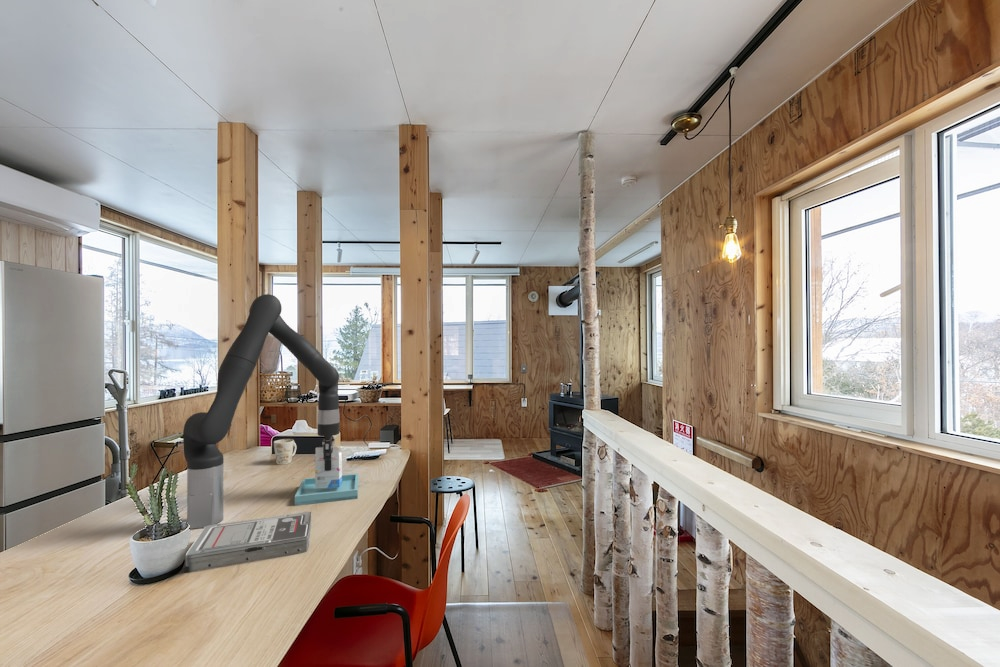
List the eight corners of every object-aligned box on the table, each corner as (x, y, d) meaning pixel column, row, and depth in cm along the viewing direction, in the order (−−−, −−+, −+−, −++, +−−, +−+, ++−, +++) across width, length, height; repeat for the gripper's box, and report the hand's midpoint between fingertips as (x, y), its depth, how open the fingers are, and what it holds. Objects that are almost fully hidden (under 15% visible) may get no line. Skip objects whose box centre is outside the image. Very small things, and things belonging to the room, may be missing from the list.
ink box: (342, 483, 161) (342, 443, 161) (339, 487, 156) (339, 446, 156) (318, 484, 159) (318, 444, 160) (314, 489, 155) (314, 447, 155)
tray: (357, 498, 151) (357, 489, 151) (294, 505, 145) (294, 496, 145) (358, 481, 170) (358, 473, 170) (302, 486, 164) (302, 478, 164)
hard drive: (205, 541, 120) (205, 525, 120) (311, 526, 130) (311, 511, 130) (183, 574, 103) (183, 556, 103) (307, 553, 113) (307, 536, 113)
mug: (269, 465, 194) (269, 442, 195) (287, 457, 207) (287, 436, 207) (286, 465, 193) (286, 443, 193) (303, 458, 205) (303, 437, 206)
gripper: (338, 424, 152) (338, 472, 152) (340, 417, 166) (340, 462, 166) (315, 425, 150) (315, 474, 150) (319, 419, 164) (319, 464, 164)
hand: (328, 468), depth 158 cm, fingers closed on ink box, 5 cm apart
